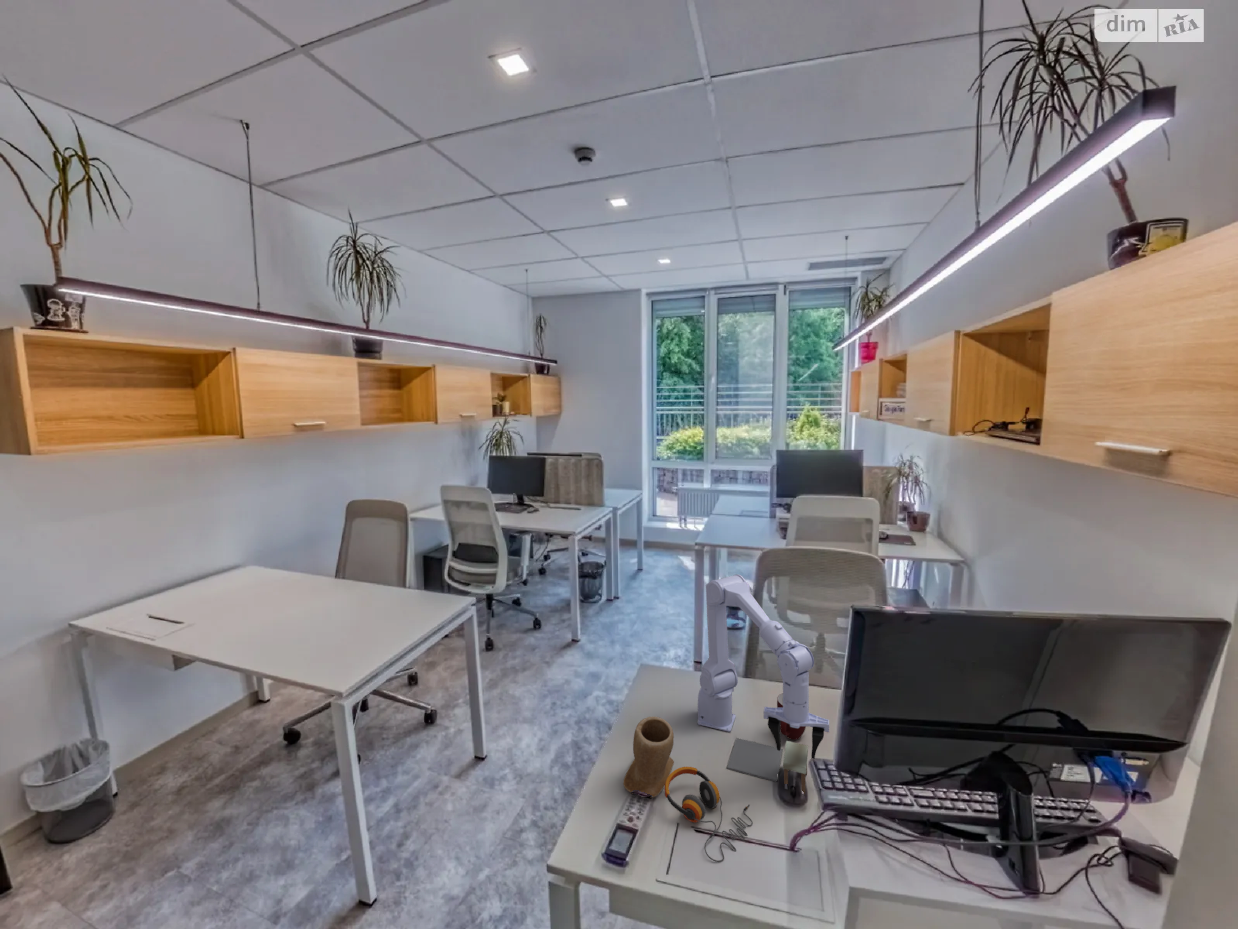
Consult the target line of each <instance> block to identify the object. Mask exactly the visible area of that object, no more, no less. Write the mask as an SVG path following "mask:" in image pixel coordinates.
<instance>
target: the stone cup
mask: <svg viewBox="0 0 1238 929" xmlns="http://www.w3.org/2000/svg"><path fill="white" fill-rule="evenodd" d="M674 738H675V736H674V730H673V728H672V726H671V724H670V722H668V721H667V720H666V719H664V718H661V717H659V716H647V717H645V718H642V719H641V720H640V721H639V722H638V723H637V725H636V727H635V729H634V733H633V742H632V746H633V747H632V750H633V751H632V752H633V757H634V758H633V760H632V762H631V764H630V765H629V767H628V769H627V772H626V773H625V776H624V778H623V783H622V784H623V787H624V789H625V790H626V791H627V792H629V793H631V792H632V791H633V790H639V791H641V792H645V793H647V794H650V795H652V796H653V797H652V798H656V797H657V796H658V795H659V794H660V793H661V792H662V790H663V789H664V788H665V782H666V780H667V778H668V776H669V775H670V774H671V773H672V772H671V771H672V769H673V766H674V763H675V760H674V759H673V758H672V757H671V753H672V750H673V747H674V744H675V743H674Z"/></svg>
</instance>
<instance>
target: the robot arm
mask: <svg viewBox="0 0 1238 929" xmlns="http://www.w3.org/2000/svg"><path fill="white" fill-rule="evenodd" d="M705 597H706V600H705V601H706V617H707V618H706V620H707V642H708V658H707V660H706V661H705V662H704V663H703V665H702V666H701V667H700V668H701V673H700V676H699V685H700V688H699V692H698V695H697V725H699V726H703V727H706V728H712V729H715V730H721V731H724V732H729V733H730V732H732V730H733V727H734V723H735V720H736V716H737V715H736V714H734V713H733V692H735V687H737V685H738V683H739V676H738V674H737V671H736V665H735V663H734V662H733V661H732V660H730V659H729V649H728V648H729V646H728V644H729V643H728V642H729V641H728V622H727V616H728V615H727V607H728V606H729V607H737V608H739V609H741V610H742V612H743V613H745V615H746V616H747V617H748V618H749V619H750V620H751V621H752V622H753V624H755V626H757V627H758V628H759V637H760V638H761V639H762V641H763V642H764V643H765V645H767V647H768V648H769V649H770V651H772V653H773V654H774V655H775V657H776V662H777V663H776V664H777V666H778V668H779V671H780V678H781V680H782V693H783V708H777V707H771V706H763V719H765V720H768V721H767V726H768V729H769V730H770V732H771V734H772V736H773V740H774V742H775V745H776V747H777V750H779V751H780V748H781V747H782V736H781V735H782V733H781V730H780V726H781V725H780V722H781V721H784V722H786V723H788V724H790V727H793V728H799V727H800V726H806V727H809V728H812V730H811V743H812V744H811V759H812V760H815V759H816V754H817V750H818V747H819V746H820V744H821V742H822V741H823V739H824V736H825V732H826V733H830V719H827V718H824V717H821V716H819V715H816V714H814V713H811V712H810V709H809V708H810V707H809V706H810V704H809V703H810V698H809V697H810V696H809V695H810V694H809V693H810V686H809V685H810V683H809V682H810V681H809V680H810V676H809V674H810V672H809V671H810V670H811V669H813V668H814V666H815V658H814V655H813V653H812V650H810V649H809V647H808V646H807V645H805V644H803V643H800V642H799V641H797V640H794V638H793V637H792V636H791V635H790V634H789V632H787V630H786V629H785V628H784V626H783V625H782V624H781V623H780V622H779V621H777V620H773V619H772V620H771V619H770V617H769V616H768V615H767V614H766V612H765V611H764V609H763V608H762V607H761V605H760V604H759V603H758V601H757V600H756V599H755V597H754V596H753V595H752V593H751V586H750V584H749V583H748V582H747V580H746V579H745V577H743V576H742V575H741V574H733V575H731V576H726V577H722V578H719V579H712V580H710V581H709V582H708V583H706V585H705ZM781 749H782V748H781Z"/></svg>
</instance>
